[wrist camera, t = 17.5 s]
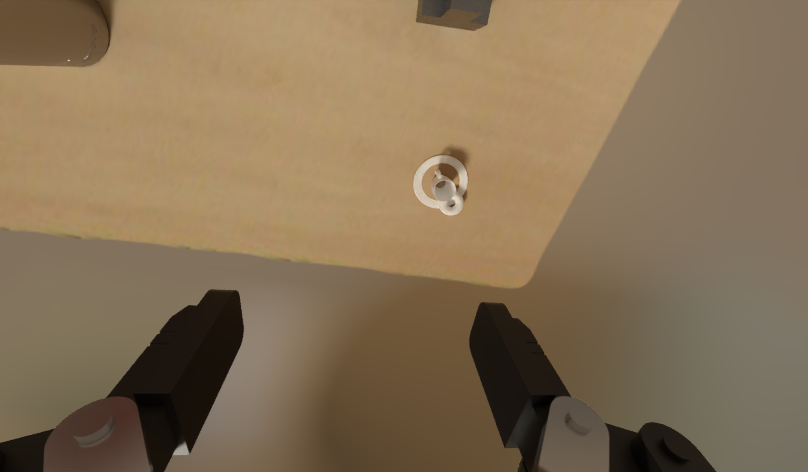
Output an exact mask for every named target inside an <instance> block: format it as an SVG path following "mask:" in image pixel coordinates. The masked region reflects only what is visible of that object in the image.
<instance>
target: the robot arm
mask: <svg viewBox="0 0 808 472" xmlns="http://www.w3.org/2000/svg"><path fill="white" fill-rule="evenodd" d="M108 42H109V35H108V27H107V24H106V20H105V17H104V15H103V13H102V11H101V8H100V7H99V5H98V4H97V2H96V1H95V0H0V65H27V66H68V67H85V66H90V65H93V64H95V63H96V62H98V61H99V60H100V59H101V58H102V57H103V56H104V54H105V52H106V50H107V48H108ZM243 332H244V325H243V318H242V310H241V303H240V296H239V293H238V291H236V290H214V289H211V290H209V291H208V292H207V293H206V294H205V296H204V297H203V298H202V300H201V301H200V303H199V304H198V305H197V306H193V305H189V306H187V307H185V308H184V309H183V310H181V311H180V312H178V313H177V314H175V315H174V316H172V317H171V318H170V319H169V321H168V322H167V323H166V324H165V326H164V327H163V328H162V329H161V331H160V334H157V335H156V337H155V338H154V339H153V340H152V342H151V343H150V346H148V347H147V348H146V349H145V351H144V352H143V353H142V354H141V355H140V357H139V358H138V359H137V360H136V362H135V363H134V364H133V365H132V367H131V368H130V369H129V370H128V371H127V373H126V374H125V375H124V376H123V378H122V379H121V380H120V381H119V383H118V384H117V385H116V386H115V388H114V389H113V390H112V391H111V393H110V394H109V395H108V396H107V397H106V398H104V399H100V400H97V401H95V402H92V403H90V404H88V405H85V406H84V407H82V408H80V409H78V410H77V411H75V412H74V413H72V414H71V415H69V416H68V417H67V418H65V419H64V420H63V421H62V422H61V423H60V424H59V425H58V426H57V427H56V428H55V429H51V430H48V431H44V432H41V433H37V434H33V435H29V436H25V437H21V438H18V439H14V440H10V441H6V442H2V443H0V472H164V471H165V469H166V467H167V465H168V463H169V461H170V459H171V457H172V455H189V454H190V453H191V450H192V448H193V446H194V444H195V442H196V440H197V438H198V435H199V433H200V431H201V429H202V427H203V425H204V422H205V420H206V419H207V416H208V414H209V412H210V410H211V408H212V406H213V404H214V402H215V399H216V397H217V395H218V393H219V391H220V389H221V387H222V384H223V382H224V380H225V378H226V376H227V374H228V371H229V369H230V367H231V365H232V363H233V361H234V359H235V357H236V355H237V353H238V350H239V348H240V346H241V343H242V339H243ZM469 345H470V351H471V354H472V357H473V360H474V363H475V365H476V368H477V371H478V374H479V377H480V380H481V383H482V386H483V388H484V391H485V394H486V397H487V400H488V402H489V405H490V408H491V411H492V414H493V416H494V419H495V422H496V425H497V428H498V431H499V433H500V436H501V439H502V442H503V445H504V447H505V448H519V450H520V453H521V455H522V458H521V461H520V463H519V466H518V470H517V472H716V471H715V470H714V468H713V467H712V466H711V465H710V463H709V462H708V461H707V460H706V459H705V457H704V456H703V455H702V454H701V452H700V451H699V450H698V449H697V448H696V447H695V446H694V445H693V444H692V443H691V442H690V441H689V440H688V439H687V438H685V437H684V436H683V435H681V434H680V433H679V432H677V431H675V430H674V429H672V428H670V427H668V426H665V425H663V424H659V423H654V422H650V423H646V424H645V425H643V427H642V428H641V429H640V430H639V432H638V433H636V432H633V431H629V430H626V429H623V428H620V427H616V426H613V425H610V424H606V423H604V421H603V420H602V418H601V417H600V416H599V415H598V414H597V413H596V411H594V410H593V409H592V408H591V407H590V406H588V405H587V404H586V403H584V402H582V401H580V400H578V399H576V398H572V397H571V396H570V394H569V393H568V391H567V389H566V387H565V386H564V384H563V383H562V381H561V379H560V378H559V376H558V374H557V373H556V371H555V370H554V368H553V366H552V365H551V363H550V361H549V360H548V358H547V357H546V355H544V352H543V350H542V348H541V347H540V345H538V342H537V340H536V339H535V337H534V335H533V334H532V332H531V330H530V329H529V328H528V327H527V326H526V325H524V324H523V323H522V322H521V321H520V320H519V319H517V318H516V319H515V318H512V316H511V314H510V313H509V311H508V309H507V308H506V306H505V305H504V304H503V303H488V302H482V303H480V305H479V307H478V310H477V313H476V316H475V320H474V323H473V326H472V330H471V333H470V338H469Z"/></svg>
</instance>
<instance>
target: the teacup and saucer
mask: <svg viewBox="0 0 808 472" xmlns="http://www.w3.org/2000/svg"><path fill="white" fill-rule="evenodd" d="M438 163H446V164H449V165H451V166H453V167H454V168H455V169H456V170H457V172H458V174H459V177H460V184H459V188H458V190H457V191H456V186H455V184H454V183H453V182H452V181H451V180H450V179H449V178H448V177H446V176H444V175H441V172H440V170H439V169H438V170H435V174H436V177H435V178H434V179H433V181H432V191H433V194H434V197H435V198H436V199H437V200H439V201H436V200H432V199H430V198H429V197H427V196H426V195H425V193H424V192H423V190H422V185H421V181H422V177H423V175H424V173H425V171H426V170H427V169H428V168H429V167H431V166H433V165H435V164H438ZM443 180H445V185H444V186H443V187H442V188H437V187H436V184H437V183H439V182H440V181H443ZM467 184H468V176H467V172H466V169H465V167H464V166H463V164H462V163H461V162H460V161H459V160H457V159H456V158H454V157H451V156H448V155H438V156H434V157H431V158H429V159H427V160H426V161H425V162H423V163H422V164H421V165H420V167H419V168H418V169H417V171H416V173H415V176H414V183H413V185H414V191H415V194H416V196H417V197H418V199H419V200H420V201H421V202H422V203H424V204H425V205H427V206H429V207H432V208H440V210H441V211H442V212H443V213H444V214H446V215H455V214H457V213H459V212H460V211H461V210H462V208H463V205H464V200H463V197H462V196H463V194H464V193H465V191H466V188H467ZM454 203H455V205H454V206H453V207H449V206H451V205H453V204H454Z"/></svg>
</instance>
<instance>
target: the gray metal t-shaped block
mask: <svg viewBox="0 0 808 472" xmlns="http://www.w3.org/2000/svg"><path fill="white" fill-rule="evenodd" d="M491 2H492V0H418V9H417V18H416V22H419V23H425V24H432V25H439V26H445V27H452V28H459V29H465V30H472V31H475V30H477V29H479V28H481V27H484V26H486V25H487V23H488V18H489V13H490V7H491Z"/></svg>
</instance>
